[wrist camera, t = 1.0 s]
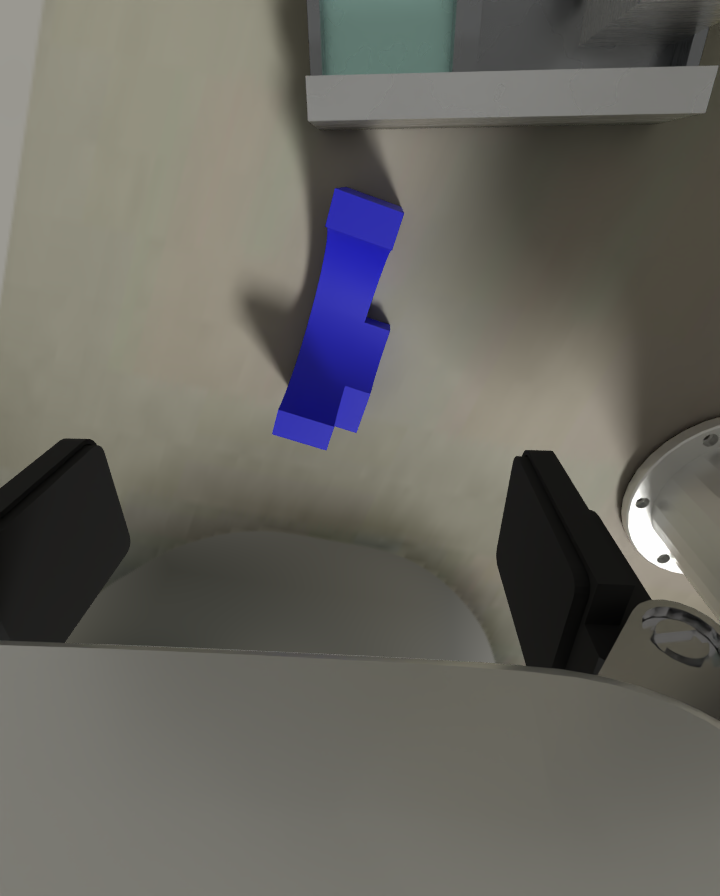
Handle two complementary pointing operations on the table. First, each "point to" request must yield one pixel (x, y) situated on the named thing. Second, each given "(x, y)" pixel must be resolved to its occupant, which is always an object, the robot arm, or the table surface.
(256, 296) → the table surface
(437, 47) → the grey holder tray
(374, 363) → the blue curved block
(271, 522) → the table surface
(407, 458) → the table surface
